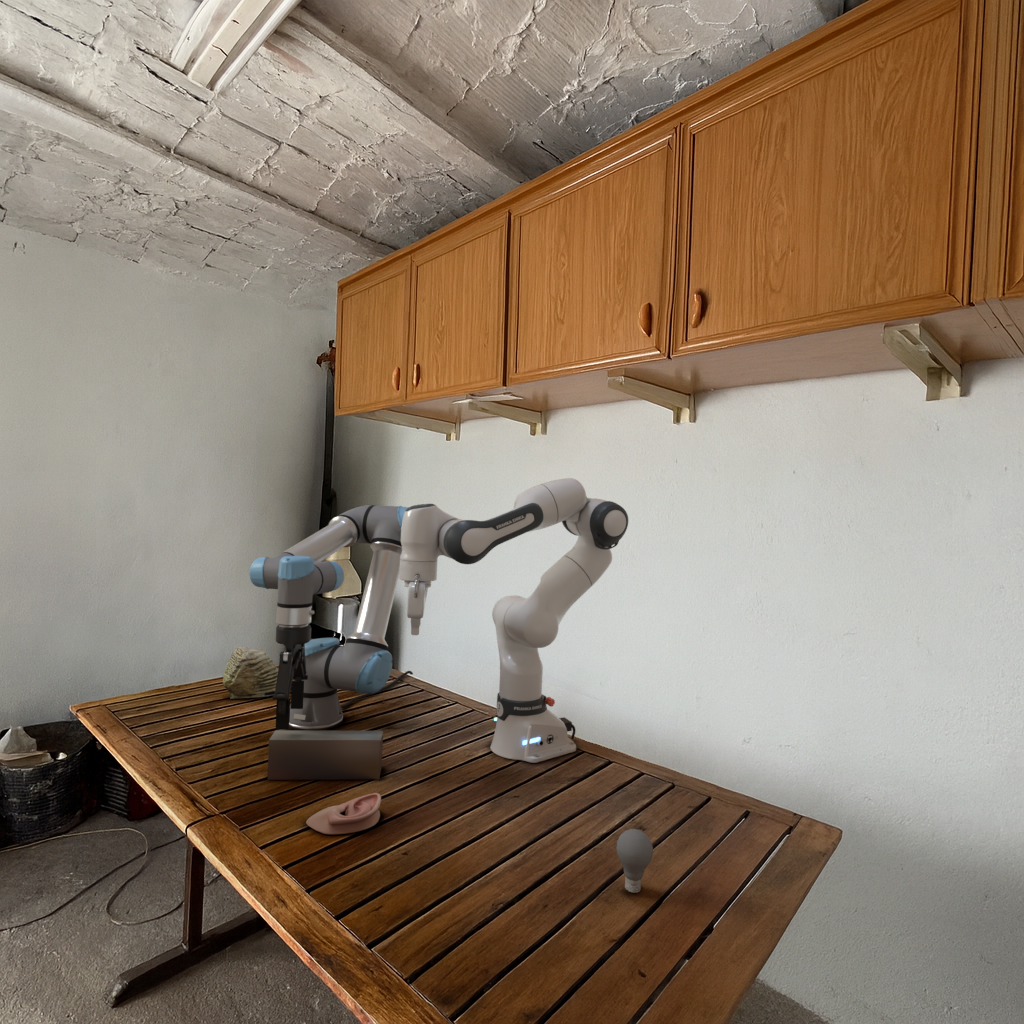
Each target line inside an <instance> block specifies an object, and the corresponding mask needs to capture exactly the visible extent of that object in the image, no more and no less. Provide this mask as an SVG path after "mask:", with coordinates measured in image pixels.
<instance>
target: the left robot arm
mask: <svg viewBox="0 0 1024 1024" xmlns="http://www.w3.org/2000/svg"><path fill="white" fill-rule="evenodd" d="M409 507H410V506H402V505H398V506H397V505H378V504H377V505H376V504H366V505H361V506H357V507H354V508H351V509H348V510H346V511H343V512H342V513H340V514H338V515H336V516H334V517H333V518H332V519H330V520H329V522H328V524H327V525H326V526H325V527H322V528H321V529H319V530H318V531H315V533H312V534H311V535H309V536H307V537H306V538H304V539H303V540H301V541H299V542H297V543H296V544H294V545H292V546H291V547H289V548H287V549H286V550H284V551H283V552H281V553H279V554H277V555H275V556H273V557H269V556H265V557H263V556H262V557H257V558H255V559H254V560H253V562H252V563H251V565H250V567H249V578H250V579H249V580H250V582H251V584H252V585H253V586H255V587H257V588H263V589H266V590H269V589H270V590H277V602H276V617H275V618H276V619H275V623H276V624H277V626H276V627H275V642H276V643H277V644H279V645H283V646H284V650H283V651H280V653H279V662H278V675H277V682H276V688H275V695H272V700H273V701H276V707H275V730H307V731H330V730H332V729H335V728H337V727H339V726H340V725H342V723H343V722H344V714H343V709H345V708H346V707H348V706H350V705H351V704H352V703H354V702H356V701H358V700H361V699H365V698H367V697H370V696H372V695H373V696H374V695H375V694H379V693H380V692H383V691H385V690H387V689H388V688H390V687H392V686H394V685H395V684H396V683H398V682H399V681H400V680H401V679H402V678H404V677H406V676H407V675H411V676H412V675H414V672H413V671H412V670H407V671H405V672H403V673H402V674H401V675H399V676H397V678H395V680H393V681H392V682H390V683H388V684H387V682H388V681H389V678H390V676H391V673H392V669H393V656H392V654H391V652H389V651H388V649H389V644H388V643H387V641H386V639H385V638H386V633H387V629H388V625H389V621H390V615H391V611H392V608H393V603H394V599H395V595H396V591H397V586H398V582H399V569H400V556H401V553H402V545H401V528H402V520H403V515H404V512H405V510H406V509H407V508H409ZM356 544H369V547H370V549H371V550H372V552H373V554H372V557H371V558H372V559H371V561H370V566H369V569H368V574H367V577H366V582H365V586H364V590H363V594H362V598H361V602H360V605H359V610H358V614H357V618H356V621H355V625H354V630H353V632H352V634H350V635H348V636H347V637H346V638H345V643H344V645H340V644H341V643H340V642H341V641H340V639H339V638H337V637H320V638H319V637H318V638H313V639H312V626H311V625H310V624H311V623H312V615H313V616H314V615H315V610H313V598H314V597H313V596H316V595H320V594H328V593H331V592H333V591H336V590H338V589H339V588H340V587H341V586H342V585H343V583H344V580H345V571H344V569H343V567H342V566H341V564H340V563H338V562H336V561H333V560H326V559H327V558H329V557H331V556H333V554H335V553H337V552H338V551H340V550H341V549H343V548H350V547H352V546H353V545H356ZM386 684H387V685H386ZM338 690H339V691H340V690H341V691H347V692H354V693H357V694H358V693H359V694H361V695H359V696H355V697H353V698H351V699H350V700H348V701H347V702H345V703H344V704H341V702H340V699H339V695H338Z"/></svg>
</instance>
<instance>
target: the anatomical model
mask: <svg viewBox="0 0 1024 1024" xmlns="http://www.w3.org/2000/svg"><path fill="white" fill-rule="evenodd" d="M381 803H382V796H381V794H380V793H379V792H373V793H368V794H364V795H362V796H358V797H356V798H353V799H351V800H348V801H346V802H343V803H340V804H338V805H332V806H328V807H325V808H323V809H321V810H319V811H317V812H315V813H313V814H312V815H311V816H310V817H308V818H307V819H306V821H305V824H306V825H307V826H308V827H309V828H311V829H312V830H314V831H316V832H319V833H321V834H323V835H343V834H351V833H356V832H362V831H365V830H367V829H369V828H370V829H371V828H372V827H374V826H375V825H376V824H377V823H379V821H380V818H381V812H380V810H379V809H380V807H381Z"/></svg>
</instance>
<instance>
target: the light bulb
mask: <svg viewBox="0 0 1024 1024" xmlns="http://www.w3.org/2000/svg"><path fill="white" fill-rule="evenodd" d="M615 849H616V854H617V857H618V859H619V861H620V863H621V865H622V867H623V873H624V874H623V875H624V876H625V878H624V888H625V890H627V891H628V892H630V893H634V894H635V893H639V892H640V891H641V889H642V887H641V886H642V879H643V877H644V875H645V871H646V868H647V867H648V866H649V864H650V863H651V861H652V859H653V855H654V847H653V843H652V841H651V838H649V836H648V835H647V834H646V833H645V832H643V831H642V830H641V829H636V828H629V829H627V830H625V831H623V832H622V833H621V834H620V835H619V837H618V839H617V841H616V847H615Z"/></svg>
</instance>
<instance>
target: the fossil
mask: <svg viewBox="0 0 1024 1024" xmlns="http://www.w3.org/2000/svg"><path fill="white" fill-rule="evenodd" d="M278 669H279V667H277V665H276V663H275V662H274V660H273V659H272V658H271V657H270V656H269V655H268V654H267V653H266V652H265V650H264V649H263V648H260V647H258V648H251V647H247V646H246V647H245V646H238V647H237V648H236V649H235V650H233V651H232V653H231V656H230V657H229V659H228V660H227V663H226V666H225V668H224V671H223V675H222V676H223V677H222V685H223V687H224V688H225V690H226V691H228V693H229V698H230V699H250V698H264V697H271V696H272V697H273V696H274V695H275V688H276V682H277V675H278Z"/></svg>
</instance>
